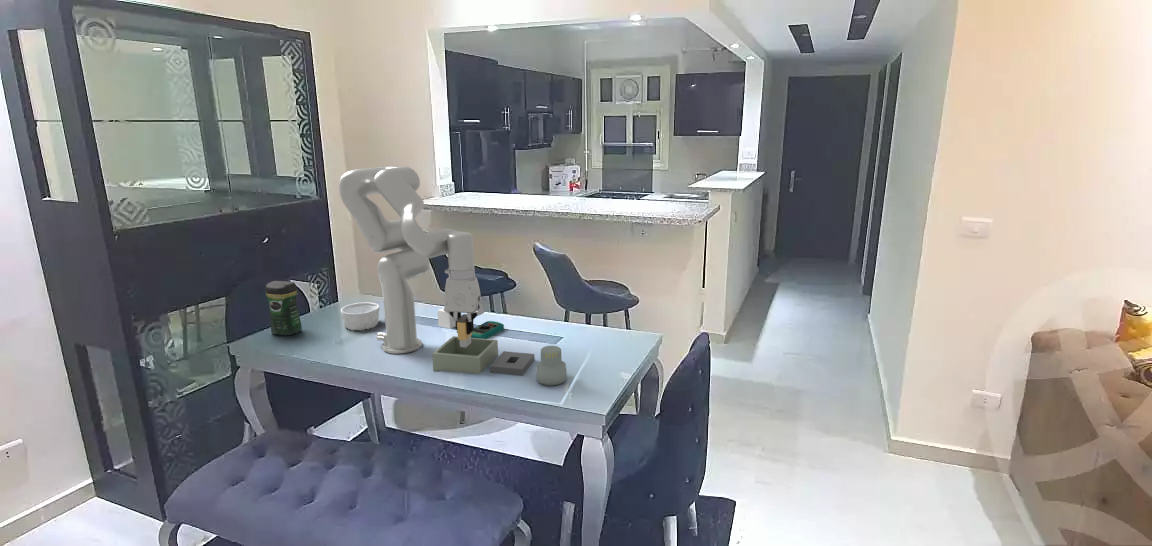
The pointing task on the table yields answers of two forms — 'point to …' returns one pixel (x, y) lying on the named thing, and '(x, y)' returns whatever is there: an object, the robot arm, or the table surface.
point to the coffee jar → (283, 307)
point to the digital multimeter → (487, 329)
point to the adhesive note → (445, 319)
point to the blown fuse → (463, 331)
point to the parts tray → (465, 355)
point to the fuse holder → (512, 363)
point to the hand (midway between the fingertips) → (464, 332)
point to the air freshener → (551, 367)
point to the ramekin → (360, 315)
